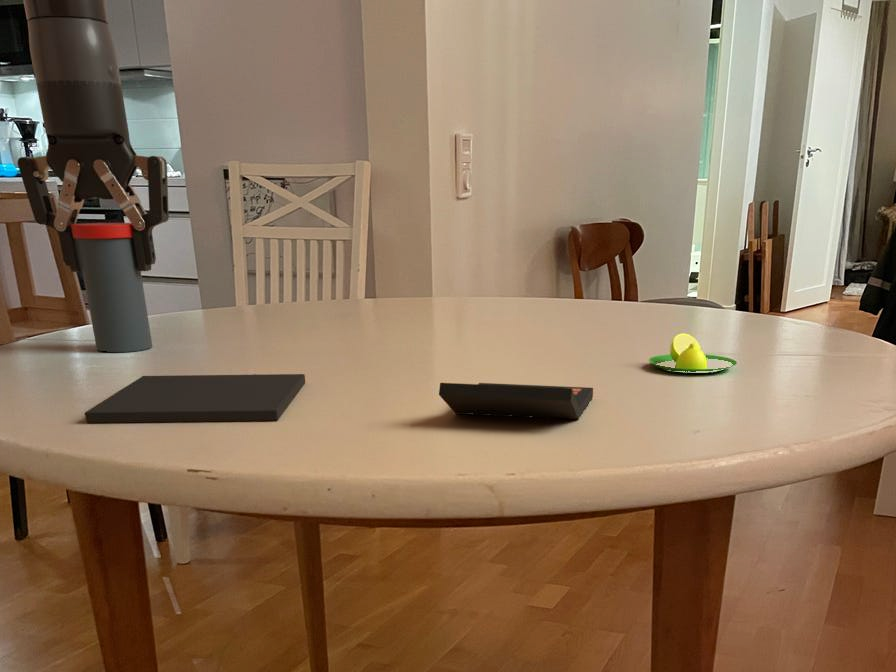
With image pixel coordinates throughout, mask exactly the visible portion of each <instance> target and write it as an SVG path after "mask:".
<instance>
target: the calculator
mask: <svg viewBox="0 0 896 672" xmlns="http://www.w3.org/2000/svg"><path fill="white" fill-rule="evenodd" d="M438 396H439V397H440V399H442V400H443V402H445V404H446V405H447V406H448V407H449V408H450V409H451V410H452V412H454V414H456V413H473V414H472V415H475V414H490V415H489V416H495V415H512V416H511V417H514V416H532V417H531V418H534V417H550V418H549V419H553V418H568V419H567V420H573V419H579V417H580V416H581V414H582V413H583V411H584V410H585V408H586V407H587V405H588V404H589V402H590V401H591V402H592V400H593V399H592V398H594V387H586V386H585V387H583V386H564V385H563V386H562V385H561V386H560V385H558V386H557V385H538V384H518V383H517V384H516V383H514V384H513V383H493V382H492V383H491V382H478V383H477V384H475V383H457V382H456V383H455V382H452V383H451V382H439V390H438ZM591 399H592V400H591ZM591 402H590V403H591ZM589 405H590V404H589ZM589 405H588V406H589ZM587 408H588V407H587ZM587 408H586V409H587ZM585 411H586V410H585ZM585 411H584V412H585ZM583 414H584V413H583ZM583 414H582V415H583ZM581 417H582V416H581ZM581 417H580V418H581ZM579 420H580V419H579Z"/></svg>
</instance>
